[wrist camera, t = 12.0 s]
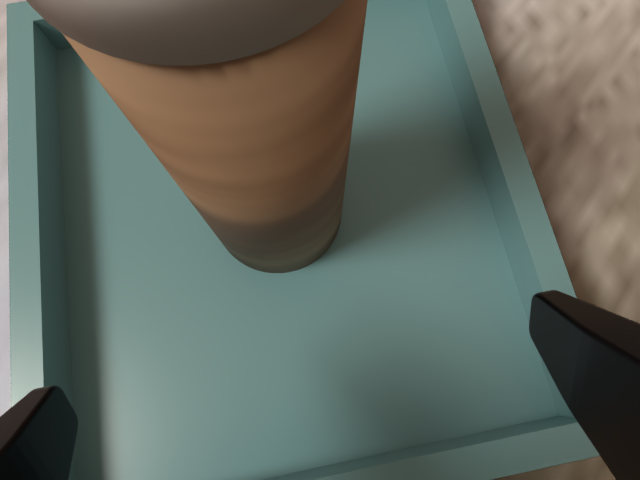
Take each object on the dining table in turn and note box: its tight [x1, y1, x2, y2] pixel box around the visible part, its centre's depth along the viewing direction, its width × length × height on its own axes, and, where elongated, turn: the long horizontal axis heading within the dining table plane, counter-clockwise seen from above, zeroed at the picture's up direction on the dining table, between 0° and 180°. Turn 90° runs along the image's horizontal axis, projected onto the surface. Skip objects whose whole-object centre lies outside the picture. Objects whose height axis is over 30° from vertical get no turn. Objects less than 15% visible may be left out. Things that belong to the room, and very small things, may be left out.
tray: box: [7, 0, 600, 480], centre depth 17 cm, size 20×18×2 cm
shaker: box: [27, 0, 368, 273], centre depth 11 cm, size 5×5×14 cm
